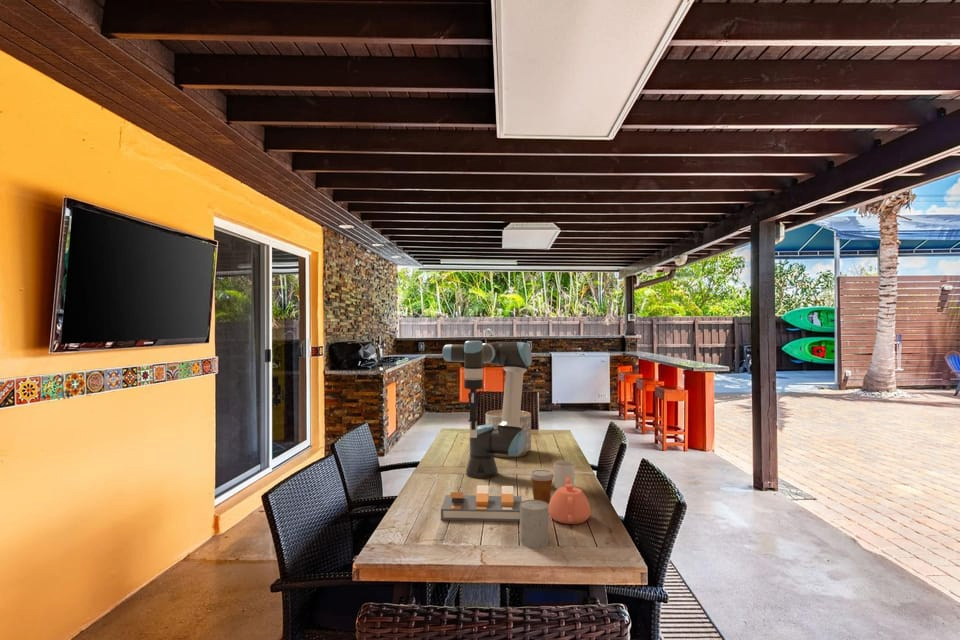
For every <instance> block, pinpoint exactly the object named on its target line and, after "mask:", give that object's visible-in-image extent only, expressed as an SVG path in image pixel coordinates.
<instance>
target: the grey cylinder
mask: <svg viewBox="0 0 960 640" xmlns="http://www.w3.org/2000/svg"><path fill="white" fill-rule="evenodd" d="M548 507H549V504H548V503H546V502H544V501H541V500H534V499H527V500H525V499H524V500H522V502H521V503H520V522H519V543H520V544H521V545H523V546H524V547H527V548H531V547H532V549H535V548H536V549H538V548H543V547H546V546H548V545H549V543H550V542H549V512H548Z"/></svg>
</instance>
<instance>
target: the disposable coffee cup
mask: <svg viewBox="0 0 960 640" xmlns="http://www.w3.org/2000/svg"><path fill="white" fill-rule="evenodd" d="M529 477H530V479H531V488H532V497H533V500H541V501H544V502H546V503H548V504H549V502H550V500H551V494H552V484H553V480H554V474H553V472H552V471H550V470H548V469H535V470H532V471H531V472H530V474H529Z"/></svg>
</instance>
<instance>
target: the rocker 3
mask: <svg viewBox="0 0 960 640" xmlns="http://www.w3.org/2000/svg"><path fill="white" fill-rule="evenodd" d="M500 496H501V507H514V501H513V496H514V486H513V485H502V486H501V495H500Z"/></svg>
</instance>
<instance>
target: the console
mask: <svg viewBox="0 0 960 640" xmlns="http://www.w3.org/2000/svg"><path fill="white" fill-rule="evenodd" d="M501 496H502V495H489V497H488V506H476V495H474V494H473V495H469V494H468V495H467V494H466V495H465V498H450V497H451V494H445V496H444V499H443V502H442V504H441V507H440V521H470V522H471V521H474V522H515V523H517V522H519V523H520V503H521V502H522V501H523V500H522V496H520V495H513V501H514V507H501Z"/></svg>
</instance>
